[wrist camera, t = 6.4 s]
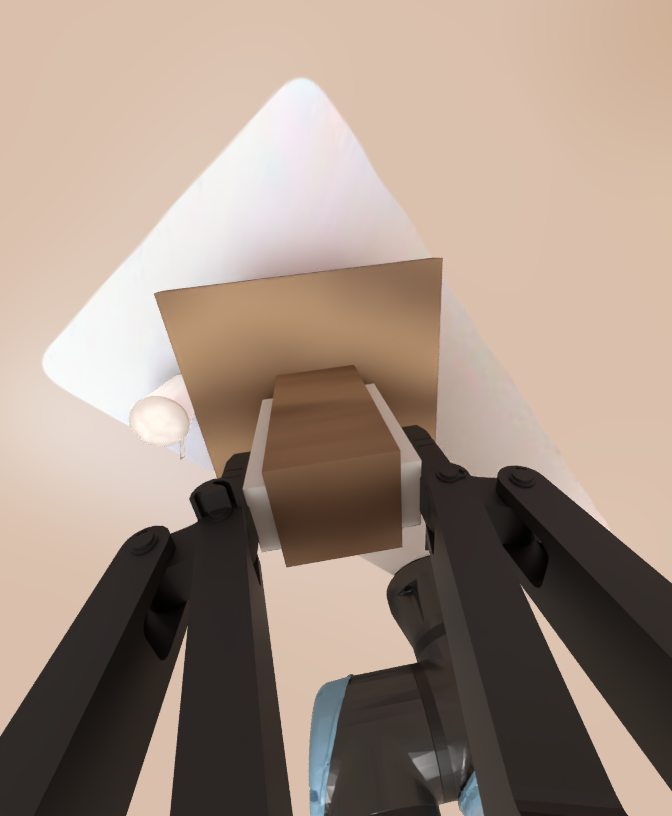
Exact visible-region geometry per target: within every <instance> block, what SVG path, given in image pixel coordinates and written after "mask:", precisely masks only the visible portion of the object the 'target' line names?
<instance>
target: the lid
mask: <svg viewBox="0 0 672 816" xmlns="http://www.w3.org/2000/svg"><path fill="white" fill-rule="evenodd" d="M442 261H443V258H427V259H419V260H410V261H402V262H394V263H386V264H378V265H370V266H361V267H353V268H345V269H337V270H329V271H321V272H312V273H304V274H296V275H288V276H280V277H272V278H263V279H255V280H247V281H239V282H231V283H223V284H214V285H206V286H198V287H190V288H182V289H174V290H165V291H161V292H157V293H154V296H155V298H156V301H157V304H158V307H159V310H160V313H161V316H162V319H163V322H164V325H165V328H166V330H167V333H168V336H169V339H170V342H171V345H172V348H173V351H174V354H175V357H176V360H177V362H178V365H179V368H180V371H181V374H182V377H183V380H184V383H185V386H186V389H187V392H188V394H189V397H190V400H191V403H192V406H193V409H194V412H195V415H196V418H197V421H198V424H199V427H200V429H201V432H202V435H203V438H204V441H205V444H206V447H207V450H208V453H209V456H210V459H211V461H212V464H213V467H214V470H215V473H216V476H217V478H221V477H222V474H223V472H224V468H225V464H226V462H227V461H228V460H229V459H230V458H231V457H232V455H233V454H237V453H243V452H250V451H251V449H252V445H253V440H254V436H255V431H256V427H257V422H258V418H259V413H260V409H261V404H262V400H265V399H272V398H273V401H272V408H271V414H270V421H269V427H268V434H267V440H266V447H265V453H264V460H263V466H262V476H263V480H264V484H265V487H266V491H267V495H268V499H269V503H270V506H271V510H272V514H273V518H274V522H275V525H276V529H277V533H278V537H279V541H280V545H281V548H282V552H283V556H284V559H285V564H286V567H291V566H297V565H303V564H308V563H314V562H320V561H325V560H331V559H337V558H343V557H348V556H354V555H360V554H365V553H371V552H377V551H382V550H388V549H394V548H400V547H402V503H401V450H400V449H399V447H398V445H397V443H396V441H395V439H394V438H393V436H392V434H391V432H390V430H389V428H388V426H387V425H386V423H385V421H384V419H383V417H382V415H381V413H380V412H379V410H378V408H377V406H376V404H375V402H374V401H373V399H372V397H371V395H370V393H369V391H368V389H367V388H366V386H365V385H367V384H375V386H376V388H377V389H378V391H379V392H380V394H381V396H382V397H383V399H384V401H385V402H386V404H387V405H388V407H389V409H390V410H391V412H392V413H393V415H394V417H395V418H396V420H397V422H398V423H399V425H400V426H401V427H405V426H412V425H418V426H420V427H422V428H423V429H425V430H426V431H427V432H428V433H429V435H430V436H431V438H432V439H433V440H434V441H435V438H436V413H437V387H438V362H439V337H440V311H441V286H442Z"/></svg>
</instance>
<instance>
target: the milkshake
mask: <svg viewBox="0 0 672 816" xmlns="http://www.w3.org/2000/svg"><path fill="white" fill-rule="evenodd" d="M194 414H195V412H194V409H193V406H192V403H191V400H190V397H189V394H188V392H187V389H186V386H185V383H184V380H183V377H182V374H178V375H176V376H174V377H173V378H171V379H170V380H169V381H167V382H166V383H164V384H163V385H162V386H160V387H159V388H158V389H156V390H155V391H153V392H152V393H150V394H149V395H147V396H146V397H144V398H143V399H141V400H139V401H138V402H137V403H136V404H135V405H134V406H133V408H132V409H131V412H130V418H129V422H130V427H131V429H132V431H133V432H134V433H135V434H136V435H137V436H138V437H139V438H140V439H141V440H142V441H143V442H145V443H147V444H150V445H158V446H171V445H174V444H176V443H178V442H179V441H180V459H182V458H184V456H185V454H184V437H185V436H186V434H187V433H188V430H189V427H190V425H191V422H192V420H193V417H194Z"/></svg>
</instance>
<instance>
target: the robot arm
mask: <svg viewBox="0 0 672 816" xmlns="http://www.w3.org/2000/svg"><path fill="white" fill-rule="evenodd" d="M365 386H366V388H367V389H368V391H369V393H370V395H371V397H372V399H373V401H374V402H375V404H376V406H377V408H378V410H379V412H380V413H381V415H382V417H383V419H384V421H385V423H386V425H387V426H388V428H389V430H390V432H391V434H392V436H393V438H394V439H395V441H396V443H397V445H398V447H399V449H400V450H401V503H402V528H404V527H410V526H416V525H421V514H422V516H423V519H424V521H425V523H426V543H425V550H429V553H430V556H429V557H425V558H422V559H419V560H417V561H415V562H413V563H411V564H409V565H407V566H406V567H404V568H403V569H401V570H400V571H399V572H398V573H397V574H396V575H395V576H394V577H393V579H392V580H391V582H390V584H389V586H388V588H387V600H388V604H389V607H390V611H391V613H392V615H393V617H394V619H395V620H396V622H397V623H398V625H399V627H400V628H401V630H402V631H403V633H404V635H405V636H406V638H407V639H408V641H409V642H410V644H411V646H412V647H413V649H414V653H415V656H416V659H417V663H414V664H408V665H403V666H398V667H394V668H389V669H384V670H379V671H374V672H370V673H365V674H360V675H353V674H350V675H348V676H347V677H346V678H342V679H339V680H335V681H331V682H328V683H326V684H324V685H323V686H322V687H321V688H320V690H319V691H318V693H317V696H316V698H315V702H314V707H313V712H312V721H311V731H310V747H309V786H310V815H311V816H441V814H440V811H439V805H440V804H444V803H447V802H451V801H458V805H459V809H460V811H461V812H462V813H463V815H464V816H628V815H627V814H626V812H625V811H624V809H623V807H622V805H621V803H620V801H619V799H618V797H617V796H616V793H615V791H614V789H613V787H612V785H611V783H610V780H609V778H608V776H607V774H606V772H605V769H604V767H603V765H602V763H601V761H600V758H599V756H598V754H597V752H596V750H595V747H594V745H593V743H592V741H591V739H590V736H589V734H588V732H587V730H586V728H585V726H584V723H583V721H582V719H581V717H580V714H579V712H578V710H577V708H576V706H575V704H574V701H573V699H572V697H571V695H570V693H569V690H568V688H567V686H566V684H565V682H564V679H563V677H562V675H561V673H560V671H559V669H558V667H557V664H556V662H555V660H554V657H553V655H552V653H551V651H550V649H549V647H548V644H547V642H546V640H545V638H544V636H543V633H542V631H541V629H540V627H539V625H538V623H537V620H536V618H535V616H534V614H533V611H532V609H531V607H530V605H529V603H528V600H527V598H526V596H525V594H524V592H523V589H522V587H523V588H524V589H525V591H526V592H527V594H528V595H529V596H530V598H531V599H532V600H533V602H534V603H535V604H536V606H537V607H538V609H539V610H540V611H541V613H542V614H543V615H544V617H545V618H546V619H547V621H548V622H549V623H550V625H551V626H552V628H553V629H554V630H555V632H556V633H557V635H558V636H559V637H560V639H561V640H562V641H563V643H564V644H565V646H566V647H567V648H568V650H569V651H570V652H571V654H572V655H573V656H574V658H575V659H576V661H577V662H578V663H579V665H580V666H581V667H582V669H583V670H584V671H585V673H586V674H587V676H588V677H589V678H590V680H591V681H592V682H593V684H594V685H595V686H596V688H597V689H598V691H599V692H600V693H601V695H602V696H603V698H604V699H605V700H606V702H607V703H608V704H609V706H610V707H611V708H612V710H613V711H614V712H615V714H616V715H617V717H618V718H619V719H620V721H621V722H622V724H623V725H624V726H625V727H626V729H627V730H628V732H629V733H630V735H631V736H632V737H633V739H634V740H635V741H636V743H637V744H638V745H639V747H640V748H641V750H642V751H643V752H644V754H645V755H646V756H647V758H648V759H649V761H650V762H651V763H652V765H653V766H654V767H655V769H656V770H657V771H658V773H659V774H660V776H661V777H662V778H663V780H664V781H665V782H666V784H667V785H668V786H669V788H670V789H671V791H672V583H671V582H669V581H668V580H667V579H666V578H664V577H663V576H662V575H661V574H660V573H659V572H657V571H656V570H655V569H654V568H653V567H651V566H650V565H649V564H648V563H647V562H645V561H644V560H643V559H642V558H641V557H639V556H638V555H637V554H636V553H635V552H633V551H632V550H631V549H630V548H629V547H627V546H626V545H625V544H624V543H623V542H621V541H620V540H619V539H618V538H617V537H616V536H614V535H613V534H612V533H611V532H610V531H608V530H607V529H606V528H605V527H604V526H602V525H601V524H600V523H599V522H598V521H596V520H595V519H594V518H593V517H592V516H591V515H589V514H588V513H587V512H586V511H585V510H583V509H582V508H581V507H580V506H579V505H577V504H576V503H575V502H574V501H573V500H571V499H570V498H569V497H568V496H567V495H565V494H564V493H563V492H562V491H561V490H559V489H558V488H557V487H556V486H555V485H553V484H552V483H551V482H550V481H549V480H547V479H546V478H545V477H544V476H543V475H541V474H540V473H538V472H537V471H535V470H532V469H530V468H527V467H522V466H507V467H504V468H502V469H501V470H500V471H499V472H498V476H497V478H485V477H475V476H471V475H470V474H469V472H468V471H467V470H466V469H465V468H463V467H461V466H459V465H456V464H453V463H450V461H449V460H448V459H447V457H446V456H445V455H444V453H443V452H442V451H441V449H440V448H439V447H438V445H437V444H436V443H435V441H434V440H433V439H432V438H431V436H430V435H429V433H428V432H427V431H426V430H425V429H423V428H422V427H420V426H418V425H412V426H405V427H401V426H400V425H399V423H398V422H397V420H396V418H395V417H394V415H393V413H392V412H391V410H390V409H389V407H388V405H387V404H386V402H385V401H384V399H383V397H382V396H381V394H380V392H379V391H378V389H377V388H376V386H375V384H367V385H365ZM272 401H273V398H272V399H265V400H262V404H261V409H260V413H259V418H258V422H257V427H256V431H255V436H254V440H253V445H252V449H251V451H250V452H243V453H237V454H233V455H232V457H231V458H230V459H229V460H228V461H227V462H226V464H225V468H224V472H223V474H222V477H221V478H217V479H212V480H210V481H207V482H205V483H203V484H202V485H200V486H199V487H197V488H196V489H195V490H194V491H193V492H192V494H191V496H190V499H189V500H190V502H191V504H192V507H193V509H194V512H195V514H196V517H197V519H198V522H196V523H195V524H193V525H191V526H189V527H186V528H184V529H182V530H179V531H176V532H174V533H171V534H170V532H169V530H168V528H166V527H164V526H152V527H148V528H145V529H143V530H141V531H139V532H137V533H135V534H134V535H133V536H132V537H130V538H129V539H128V540H127V541H126V542H125V543H124V544H123V545H122V547H121V548H120V550H119V551H118V553H117V555H116V556H115V558H114V559H113V561H112V562H111V564H110V565H109V567H108V568H107V570H106V572H105V573H104V575H103V576H102V578H101V580H100V581H99V583H98V584H97V586H96V587H95V589H94V590H93V592H92V594H91V595H90V597H89V598H88V600H87V601H86V603H85V605H84V606H83V608H82V609H81V611H80V612H79V614H78V615H77V617H76V619H75V620H74V622H73V623H72V625H71V626H70V628H69V630H68V631H67V633H66V634H65V636H64V638H63V639H62V641H61V642H60V644H59V645H58V647H57V648H56V650H55V652H54V653H53V655H52V656H51V658H50V659H49V661H48V663H47V664H46V666H45V667H44V669H43V670H42V672H41V674H40V675H39V677H38V678H37V680H36V681H35V683H34V684H33V686H32V688H31V689H30V691H29V692H28V694H27V696H26V697H25V699H24V700H23V702H22V703H21V705H20V707H19V708H18V710H17V711H16V713H15V714H14V716H13V717H12V719H11V721H10V722H9V724H8V725H7V727H6V728H5V730H4V732H3V733H2V735H1V736H0V816H126V814H127V811H128V808H129V805H130V802H131V799H132V796H133V793H134V790H135V787H136V784H137V780H138V777H139V774H140V771H141V768H142V765H143V762H144V759H145V756H146V753H147V750H148V746H149V743H150V740H151V737H152V734H153V731H154V728H155V725H156V722H157V719H158V716H159V713H160V710H161V706H162V703H163V700H164V697H165V694H166V691H167V688H168V685H169V682H170V679H171V675H172V672H173V669H174V666H175V663H176V660H177V657H178V654H179V651H180V648H181V645H182V642H183V638H184V635H185V632H186V629H187V626H188V629H187V640H186V650H185V661H184V673H183V682H182V693H181V703H180V714H179V725H178V736H177V746H176V756H175V767H174V778H173V789H172V799H171V810H170V816H293V813H292V806H291V798H290V790H289V782H288V775H287V767H286V759H285V751H284V743H283V736H282V728H281V720H280V712H279V704H278V697H277V689H276V682H275V673H274V666H273V658H272V650H271V643H270V634H269V627H268V619H267V611H266V603H265V596H264V589H263V580H262V572H261V564H260V561H259V558H258V555H257V551H258V543H259V545H260V548H261V551H262V552H266V551H272V550H278V549H282V548H281V545H280V541H279V537H278V533H277V529H276V525H275V522H274V518H273V514H272V510H271V506H270V503H269V499H268V495H267V491H266V487H265V484H264V480H263V476H262V466H263V460H264V453H265V447H266V440H267V434H268V427H269V421H270V414H271V408H272ZM520 584H521V585H522V587H521V585H520Z"/></svg>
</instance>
